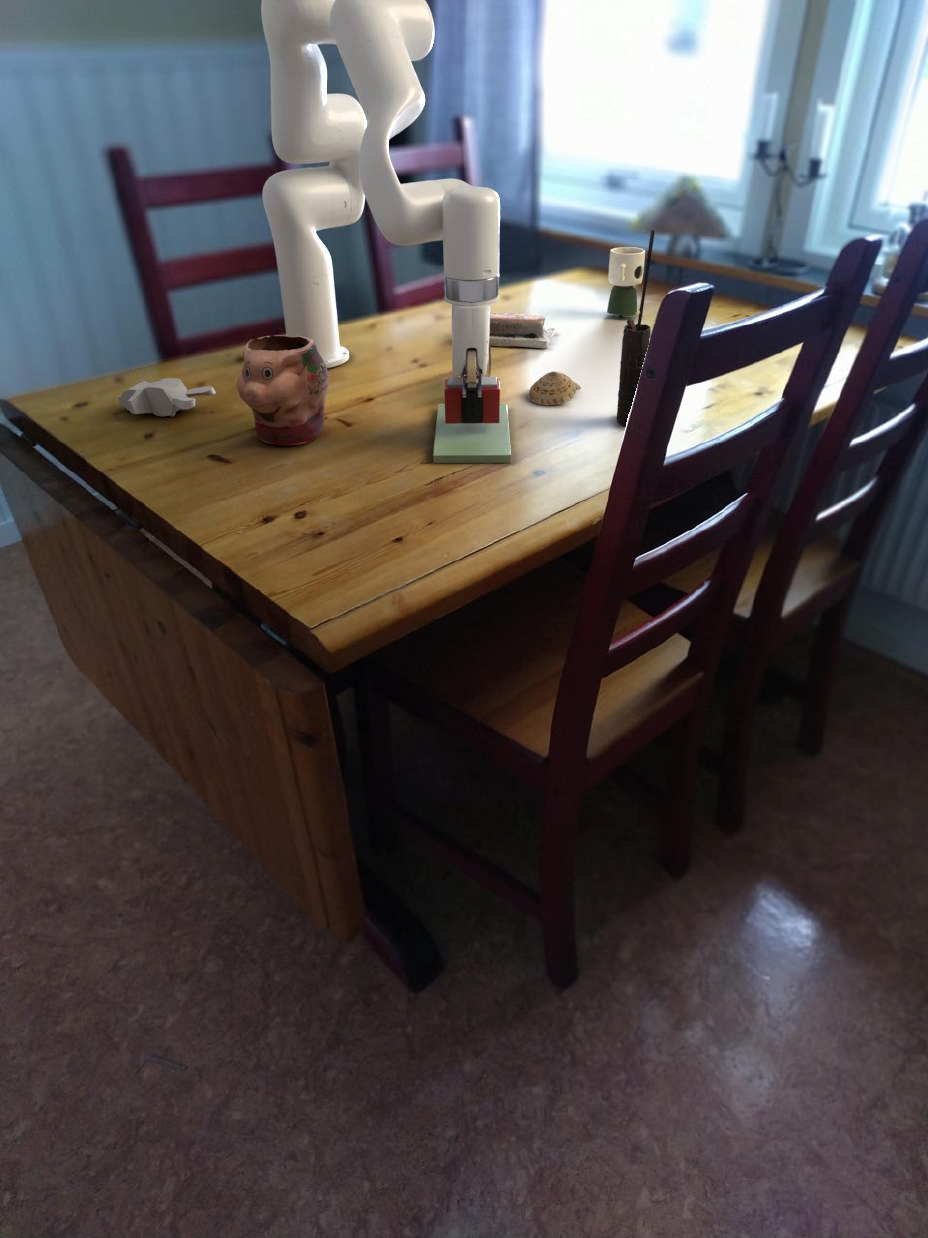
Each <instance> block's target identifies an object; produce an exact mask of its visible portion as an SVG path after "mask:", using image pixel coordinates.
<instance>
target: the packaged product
mask: <svg viewBox="0 0 928 1238" xmlns="http://www.w3.org/2000/svg"><path fill="white" fill-rule="evenodd" d="M545 321H546V316H543V315H536V314H534V315H533V314H524V313H523V314H522V313H512V312H497V311H490V333H489V341H490V346H493V347H522V348H533V349H547V347H548V346H549V344H550V342H551V341H552V339H553V337H554V334H555V328H553V327H550V328H546V327H544V326H545Z"/></svg>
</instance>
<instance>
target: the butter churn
mask: <svg viewBox="0 0 928 1238" xmlns="http://www.w3.org/2000/svg"><path fill="white" fill-rule="evenodd" d="M654 239H655V230H654V229H651V230H650V234H649V241H648V249H647V254H646V255H647V256H646V263H645V269H644V270H645V271H644V278H643V286H642V291H641V298H640V303H639V309H638V311H639V313H638V318H637V323H635V319H633V318H628V319H627V320H626V323H627V324H625V325H624V326H623V331H622V339H621V351H620V352H621V354H620V362H619V364H620V365H619V366H620V367H619V383H618V385H619V386H618V391H617V406H616V407H617V409H616V423H617V425H619V426H621V427H624V428H626V427H625V426H626V422H627V418H628V414H629V412H630V409H631V406H632V402H633V398H634V395H635V391H636V388H637V384H638V381H639V377H640V373H641V370H642V365H643V362H644V358H645V354H646V352H647V348H648V345H649V338H650V335H651V336H652V334H651V329H652V328H651V326H650V325H648V324H644V323H643V324H642V320H643V319H642V318H643V313H644V305H645V299H646V292H647V285H648V280H649V272H650V267H651V259H652V252H653V247H654Z"/></svg>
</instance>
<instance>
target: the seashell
mask: <svg viewBox="0 0 928 1238" xmlns="http://www.w3.org/2000/svg"><path fill="white" fill-rule="evenodd" d="M581 389H582V387H581V386H580V385H579V384H578V383H577V382H575V381H574V380H573V379H572V378H571V377H570V376H568V375H567V374H564V373H563V372H560V371H550V372H547V373H545V374H543V376H541V377H540V378H538V380H536V381H535V382H533V384H532V385H531V386H530V388H529V390H528V393H527V396H528V399H529V401H531V402H532V403H535V404H537V405H540V406H541V405H543V406H555V405H560V404H564V403H565V402H568V401H570V400H571V399H572V398H573V397H574V396H575V395H576V393H577V391H580V390H581Z"/></svg>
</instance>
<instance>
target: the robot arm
mask: <svg viewBox="0 0 928 1238" xmlns="http://www.w3.org/2000/svg"><path fill="white" fill-rule="evenodd" d="M260 3H261V5H260V10H261V11H260V15H261V23H262V29H263V34H264V39H265V43H266V47H267V51H268V56H269V67H270V123H271V126H270V127H271V142H272V146H273V150H274V152H275V154H276V155H277V157H278V158H279V159H280V160H281V161H283V162H285V163H287V164H291V165H308V164H309V165H311V164H320V163H328V165H324V166H314V167H301V168H293V169H287V170H286V169H285V170H281V171H279V172H276V173H274V174H273V175H271V176H269V177H268V178H267V180H266V181H265V183H264V185H263V187H262V194H261V195H262V197H261V198H262V204H263V208H264V212H265V216H266V218H267V222H268V226H269V229H270V233H271V237H272V241H273V246H274V252H275V258H276V266H277V273H278V282H279V289H280V296H281V297H280V298H281V305H282V312H283V320H284V328H285V335H291V336H302V337H307V338H310V339H312V340H313V341H314V343H315V345H316V348H317V350H318V352H319V354H320V356H321V357H322V359H323V360H324V362H325V365H326V367H327V369H331V368H336V367H337V366H338V367H339V366H340V365H343V364H345V363H347V361H349V359H350V352H349V349H348V348H346V347H345V346H342V345H341V344H340V343H341V342H340V333H339V323H338V311H337V301H336V289H335V277H334V269H333V262H332V261H333V260H332V256H331V253H330V251H329V250H328V248H327V247H326V245H325V244H324V242H322V240H321V239H320V238H319V235H318V233H317V232H318V231H323V230H326V229H333V228H339V227H345V226H350V225H352V224H355V223H356V222H358V220H360V218H361V217H362V214H363V212H364V208H365V203H367V205H368V207H369V210H370V213H371V215H372V217H373V220H374V221H375V224H376V226H377V227H378V230H379V231H380V232H381V234H382V235H383V237H384V238H385V239H386V240H387V241H388V242H389V243H391V244H393V245H395V246H399V247H409V246H414V245H420V244H426V243H431V242H440V241H442V249H443V251H442V254H443V288H444V289H443V290H444V291H443V292H444V302H445V303H447V304H449V305H451V369H452V370H451V371H452V372H451V373H452V377H455V378H457V377H461V374H462V381H463V396H461V421H462V423H482V422H483V395H482V377H484V376H485V375H486V371H487V362H488V352H489V333H490V312H491V305H492V304H495V303H497V302H499V300H500V238H501V237H500V227H501V226H500V225H501V223H500V222H501V202H500V197H499V194H498V193H497V192H496V191H495V190H494V189H493V188H490V187H487V186H486V187H484V186H475V185H474V186H473V185H471V184H469V183H467V182H466V181H464V180H461V179H458V178H451V177H450V178H441V179H429V180H421V181H415V182H407V183H406V182H405V183H401V182H400V180H399V178H398V176H397V173H396V171H395V169H394V165H393V163H392V160H391V156H390V151H389V141H390V140H391V139H392V138H393V137H395V136H396V135H398V134H400V133H401V132H402V131H404V130H405V129H406V128H408V127H409V126H410V125H412V124H413V123H414V122H415V121H416V120H417V118H418V117H419V116H420V115H421V113H422V111H423V110H424V108H425V103H426V98H425V97H426V95H425V92H424V89H423V87H422V86H421V83H420V80H419V78H418V75H417V73H416V71H415V68H414V65H413V63H412V62H417V61H420V60H424V58H425V57H426V56H427V55H428V54H429V53H430V51H431V50H432V48H433V44H434V40H435V22H434V18H433V14H432V11H431V8H430V6H429V4H428V3H427V1H426V0H261V2H260ZM319 45H336V47H337V50H338V53H339V55H340V57H341V61H342V62H343V64H344V68H345V70H346V72H347V74H348V77H349V79H350V83H351V84H352V87H353V90H354V92H355V94H356V96H357V99H358V100H357V99H356V98H355V97H353V96H352V95H349V94H347V93H328V92H327V85H328V69H327V63H326V60H325V58H324V55H323V53H322V51H321V49H320V47H319ZM365 201H366V202H365ZM466 380H468V383H466ZM476 380H478V383H476Z"/></svg>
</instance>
